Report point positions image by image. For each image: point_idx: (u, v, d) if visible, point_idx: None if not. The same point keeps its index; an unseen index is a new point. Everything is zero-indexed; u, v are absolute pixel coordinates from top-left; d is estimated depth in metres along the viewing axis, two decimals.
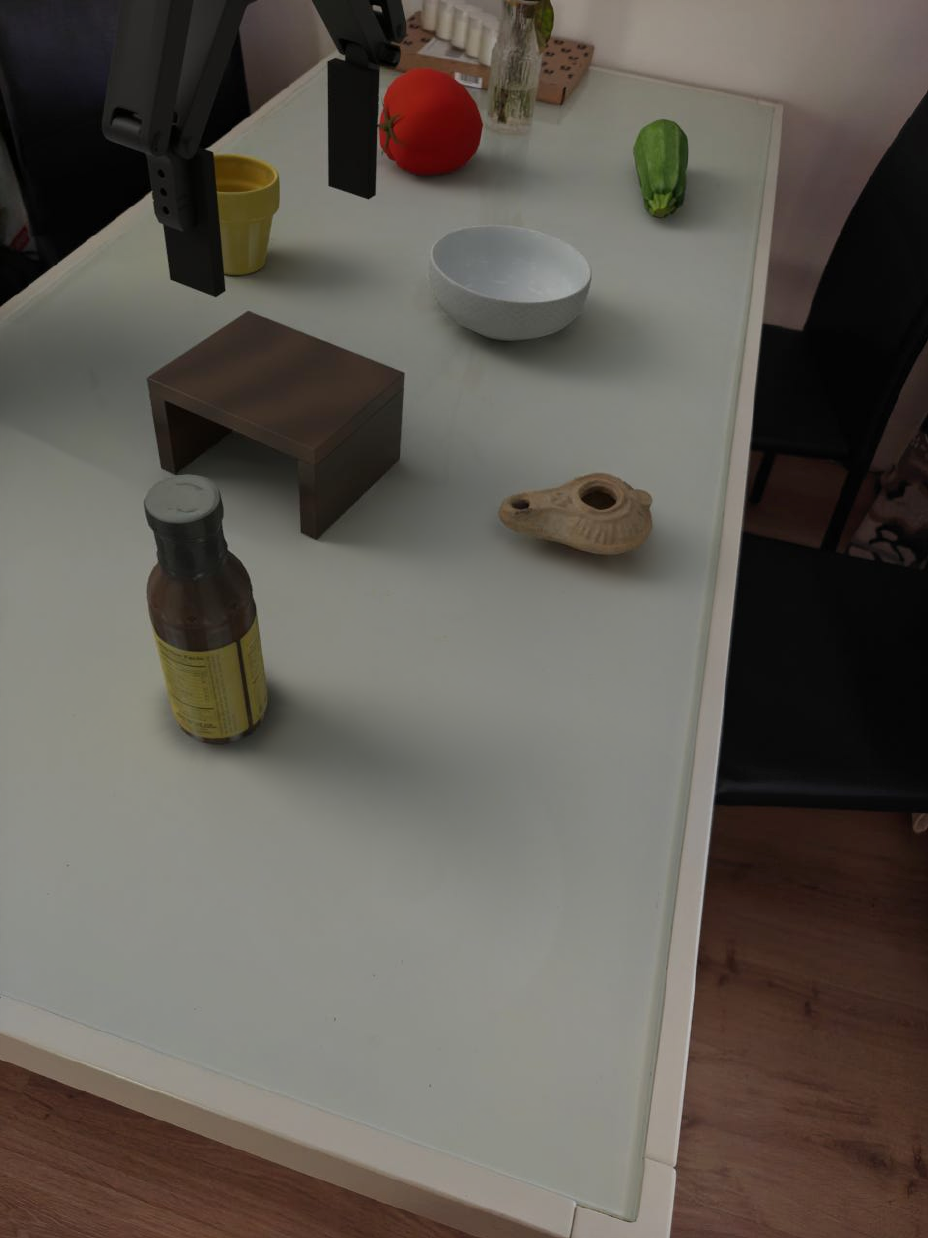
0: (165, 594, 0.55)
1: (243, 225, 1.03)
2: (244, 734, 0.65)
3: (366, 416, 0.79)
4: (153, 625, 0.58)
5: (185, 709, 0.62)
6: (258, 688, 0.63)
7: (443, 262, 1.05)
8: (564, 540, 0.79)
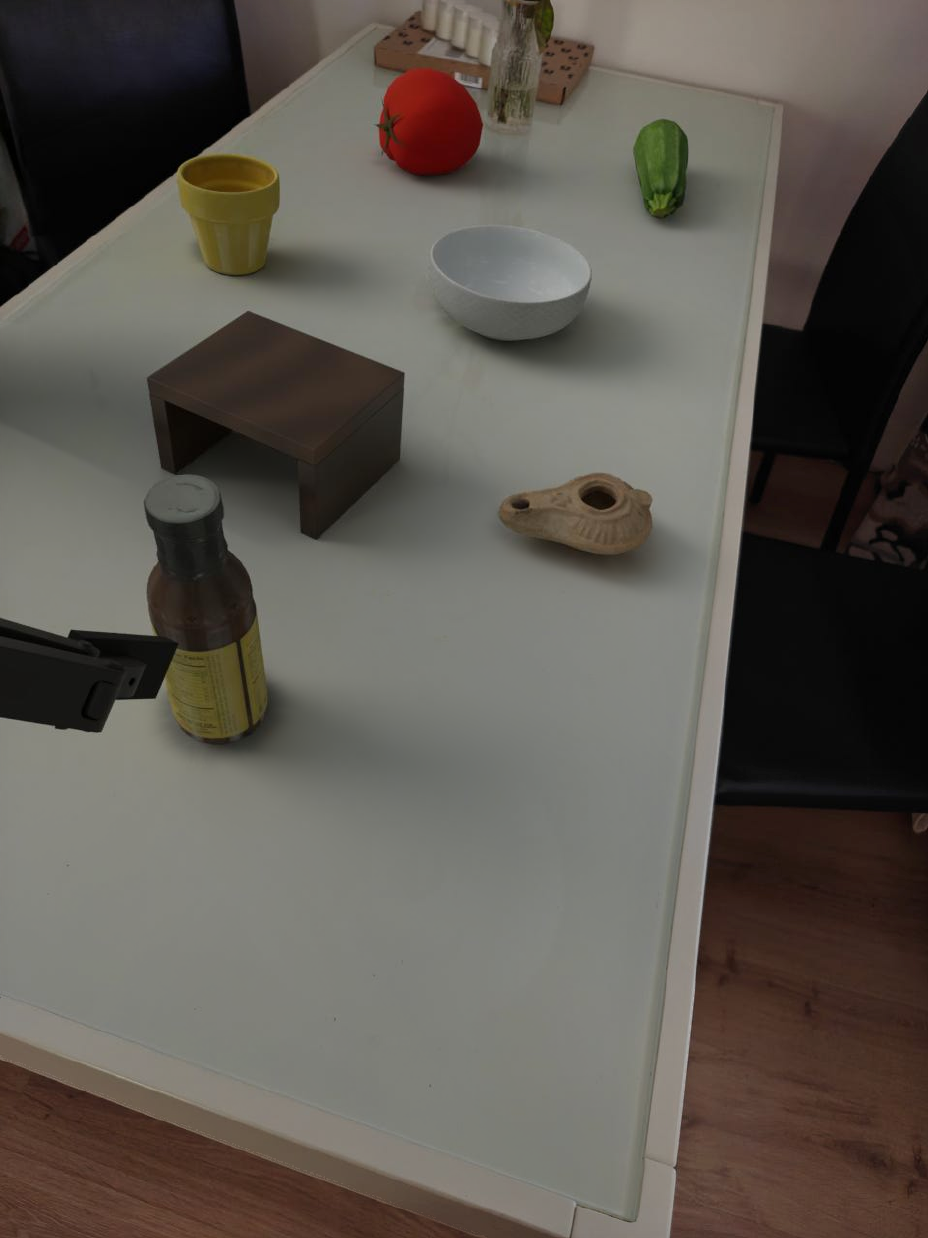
0: (165, 594, 0.55)
1: (243, 225, 1.03)
2: (244, 734, 0.65)
3: (366, 416, 0.79)
4: (153, 625, 0.58)
5: (185, 709, 0.62)
6: (258, 688, 0.63)
7: (443, 262, 1.05)
8: (564, 540, 0.79)
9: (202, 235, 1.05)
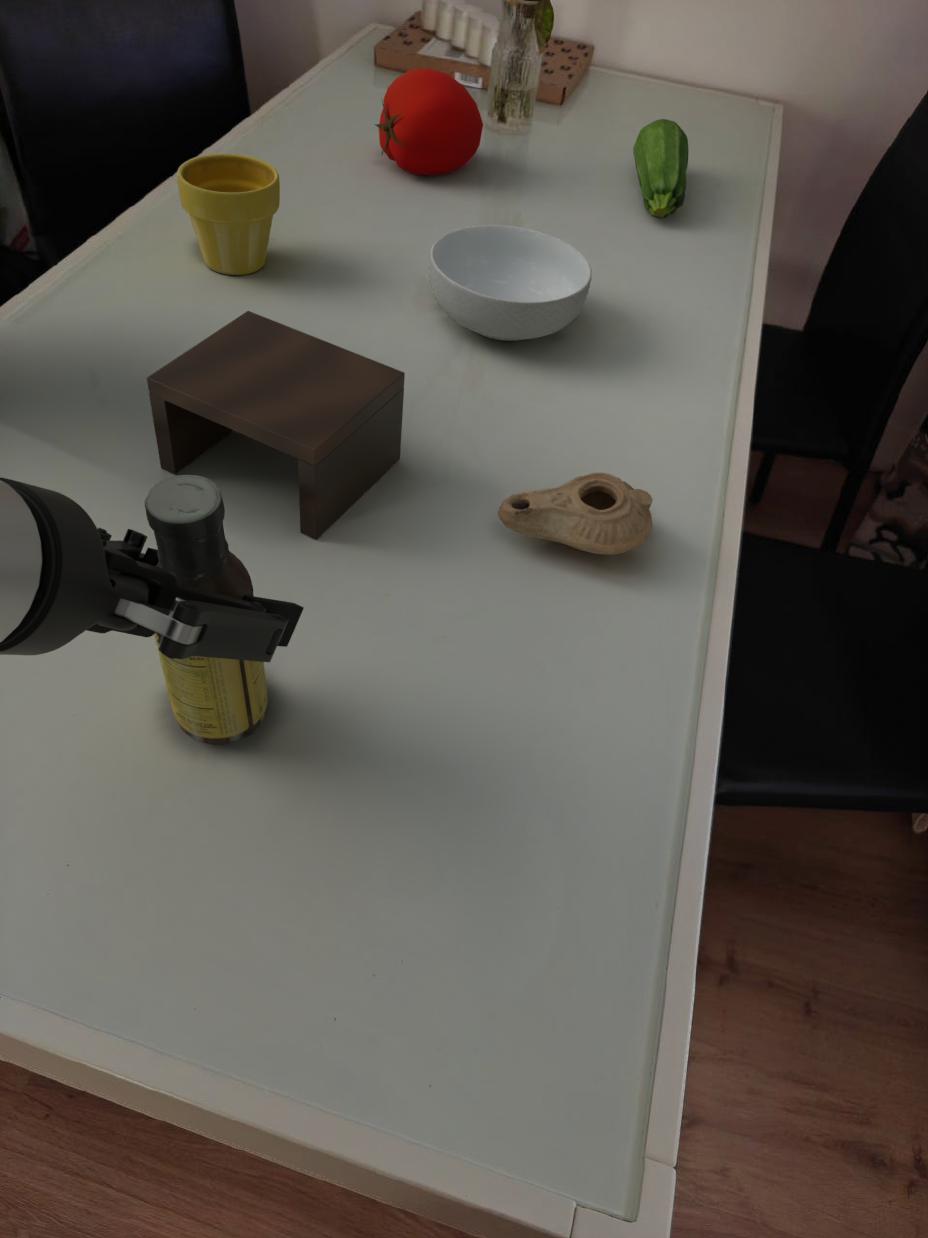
0: None
1: (243, 225, 1.03)
2: (244, 734, 0.65)
3: (366, 416, 0.79)
4: None
5: (185, 709, 0.62)
6: (259, 688, 0.63)
7: (443, 262, 1.05)
8: (564, 540, 0.79)
9: (202, 235, 1.05)
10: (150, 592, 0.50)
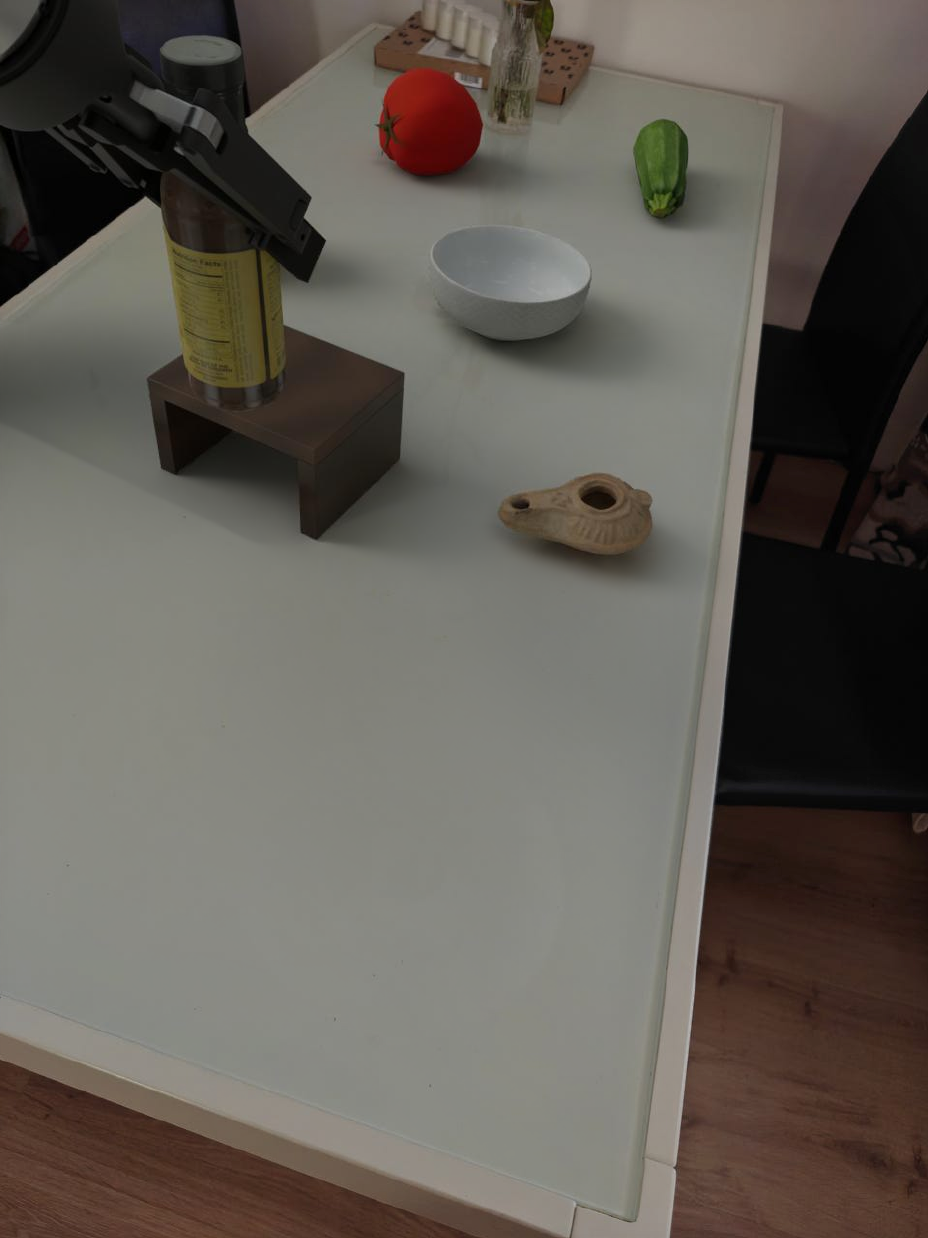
0: None
1: None
2: (261, 389, 0.61)
3: (366, 416, 0.79)
4: (167, 228, 0.54)
5: (199, 345, 0.58)
6: (277, 331, 0.59)
7: (443, 262, 1.05)
8: (564, 540, 0.79)
9: None
10: None
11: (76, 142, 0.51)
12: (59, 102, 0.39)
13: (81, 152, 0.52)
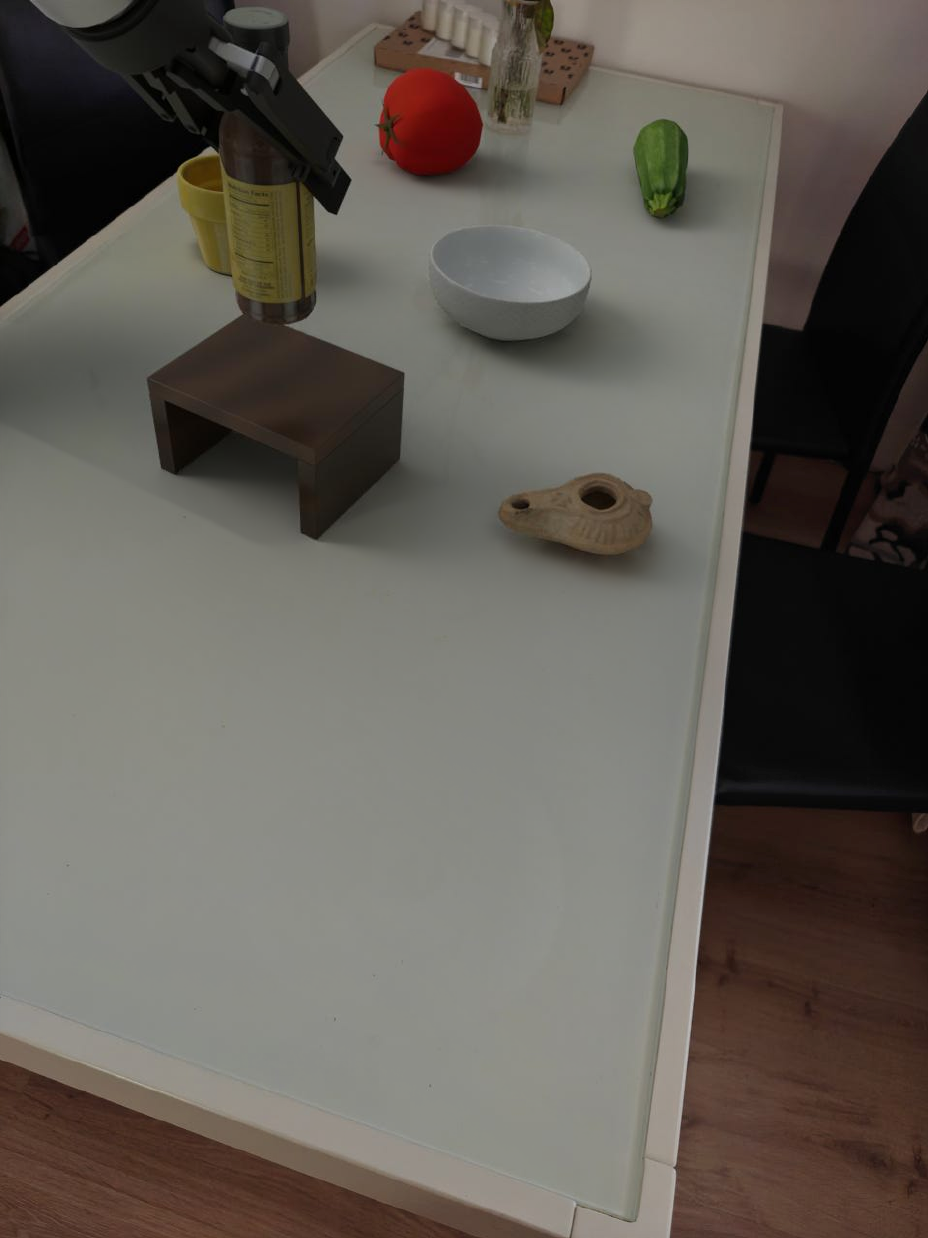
0: (237, 121, 0.64)
1: None
2: (297, 306, 0.73)
3: (366, 416, 0.79)
4: (224, 166, 0.66)
5: (248, 266, 0.70)
6: (311, 255, 0.71)
7: (443, 262, 1.05)
8: (564, 540, 0.79)
9: (202, 235, 1.05)
10: (231, 72, 0.58)
11: (153, 94, 0.63)
12: (158, 50, 0.52)
13: (156, 102, 0.64)
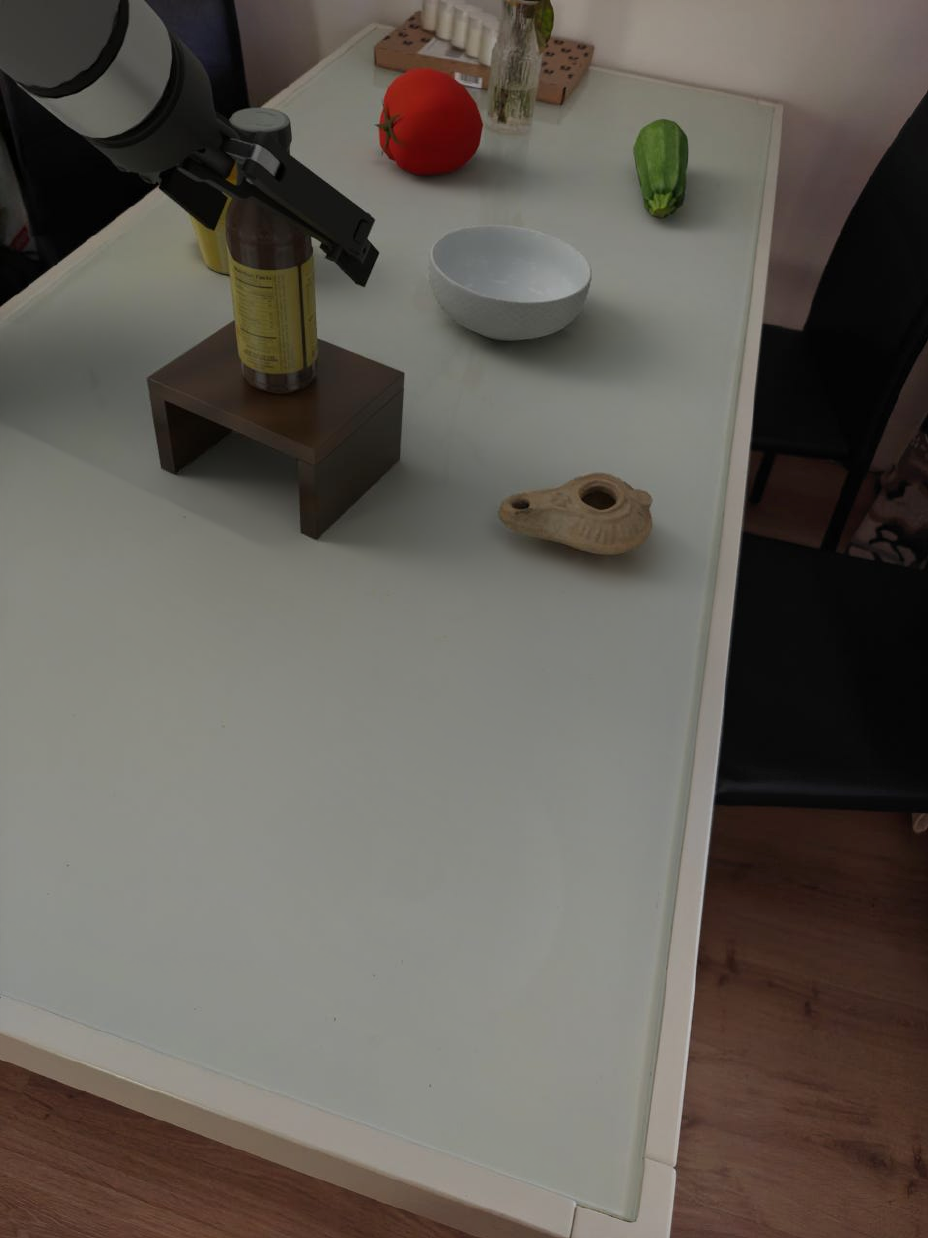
0: (242, 213, 0.68)
1: None
2: (299, 375, 0.78)
3: (366, 416, 0.79)
4: (230, 251, 0.71)
5: (252, 341, 0.75)
6: (312, 329, 0.76)
7: (443, 262, 1.05)
8: (564, 540, 0.79)
9: (202, 235, 1.05)
10: None
11: None
12: (170, 154, 0.55)
13: None
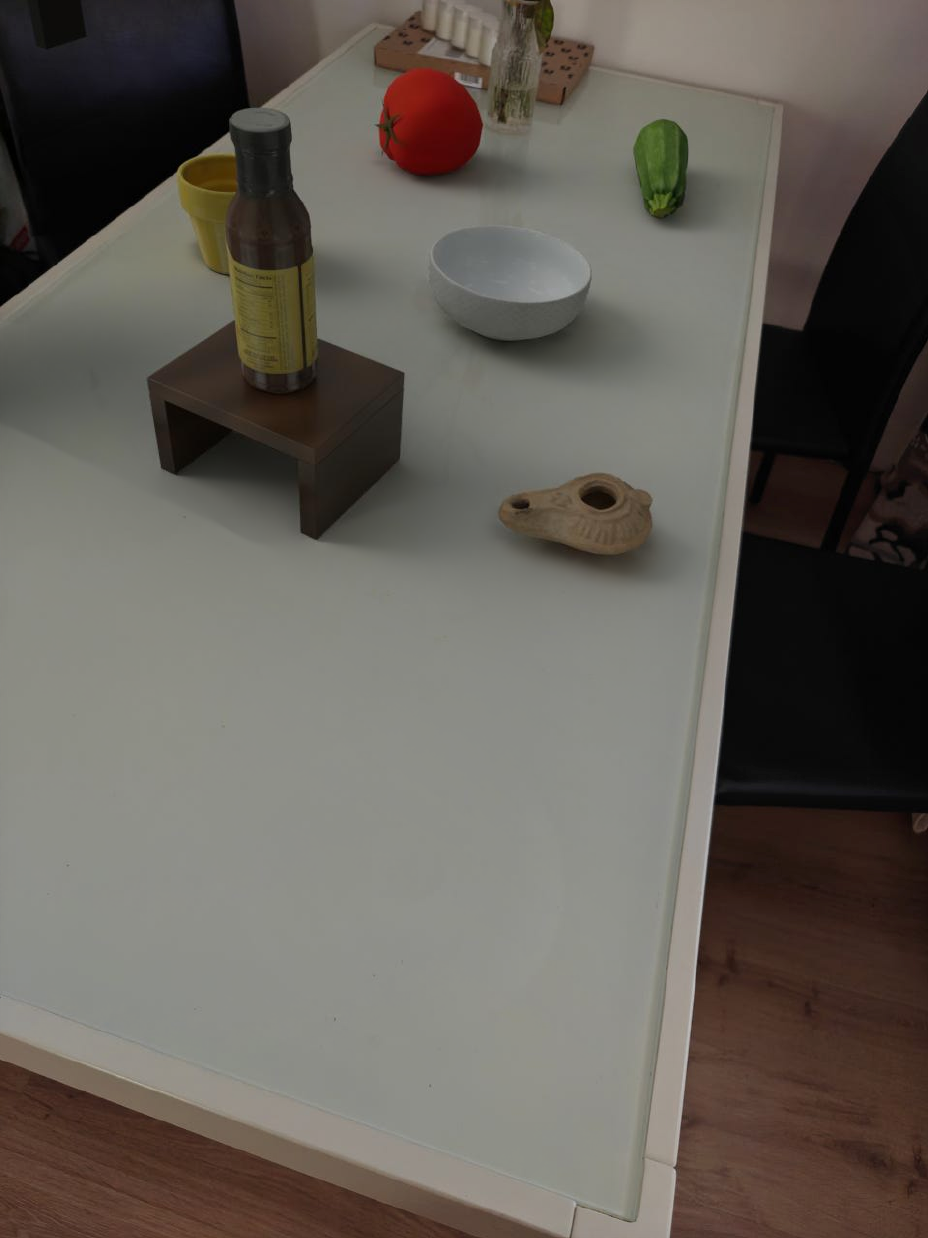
0: (242, 213, 0.68)
1: None
2: (299, 375, 0.78)
3: (366, 416, 0.79)
4: (230, 251, 0.71)
5: (252, 341, 0.75)
6: (312, 329, 0.76)
7: (443, 262, 1.05)
8: (564, 540, 0.79)
9: (202, 235, 1.05)
10: None
11: None
12: None
13: None
